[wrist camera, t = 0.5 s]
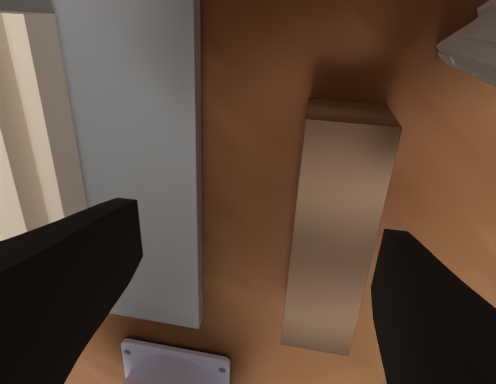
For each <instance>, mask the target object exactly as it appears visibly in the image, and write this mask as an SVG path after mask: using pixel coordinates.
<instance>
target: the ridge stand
mask: <svg viewBox="0 0 496 384" xmlns="http://www.w3.org/2000/svg"><path fill="white" fill-rule="evenodd" d="M115 198H126V199H135V200H137V203H138V212H139V221H140V231H141V240H142V249H143V257H142V259H141V262H140V264H139V266H138V268H137V270H136V272H135V274H134V276H133V278H132V280H131V281H130V283H129V285H128V286H127V288H126V289H125V291H124V292H123V294H122V295H121V297H120V298H119V299H118V301H117V302H116V304H115V305H114V307H113V308H112V309H111V311H110V312H109V313H111V314H116V315H122V316H127V317H133V318H139V319H144V320H150V321H155V322H161V323H167V324H172V325H178V326H184V327H189V328H195V329H199V328H200V325H201V322H202V320H203V237H202V130H201V22H200V0H0V241H2V240H5V239H8V238H11V237H14V236H17V235H20V234H23V233H25V232H28V231H31V230H33V229H36V228H39V227H42V226H44V225H47V224H50V223H52V222H55V221H57V220H60V219H62V218H65V217H67V216H70V215H72V214H75V213H77V212H80V211H82V210H85V209H87V208H90V207H92V206H95V205H97V204H100V203H102V202H105V201H108V200H111V199H115Z"/></svg>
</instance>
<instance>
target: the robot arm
mask: <svg viewBox="0 0 496 384" xmlns="http://www.w3.org/2000/svg"><path fill="white" fill-rule="evenodd" d="M142 257H143V249H142V240H141V231H140V221H139V212H138V203H137V200H135V199H126V198H115V199H111V200H108V201H105V202H102V203H100V204H97V205H95V206H92V207H90V208H87V209H85V210H82V211H80V212H77V213H75V214H72V215H70V216H67V217H65V218H62V219H60V220H57V221H55V222H52V223H50V224H47V225H44V226H42V227H39V228H36V229H33V230H31V231H28V232H25V233H23V234H20V235H17V236H14V237H11V238H8V239H5V240H2V241H0V384H64V383H65V381H66V379H67V377H68V375H69V374H70V372H71V370H72V368H73V366H74V365H75V363H76V361H77V359H78V358H79V356H80V355H81V353H82V351H83V350H84V348H85V347H86V345H87V344H88V342H89V341H90V339H91V338H92V336H93V335H94V334H95V332H96V331H97V329H98V328H99V327H100V325H101V324H102V322H103V321H104V319H105V318H106V317H107V315H108V314H109V312H110V311H111V309H112V308H113V307H114V305H115V304H116V302H117V301H118V299H119V298H120V297H121V295H122V294H123V292H124V291H125V289H126V288H127V286H128V285H129V283H130V281H131V280H132V278H133V276H134V274H135V272H136V270H137V268H138V266H139V264H140V262H141V259H142ZM371 297H372V310H373V320H374V325H375V330H376V335H377V340H378V344H379V349H380V354H381V358H382V363H383V367H384V372H385V376H386V381H387V384H496V308H495V307H493V306H492V305H491V304H490V303H488V302H487V301H486V300H485V299H483V298H482V297H481V296H480V295H478V294H477V293H476V292H475V291H473V290H472V289H471V288H470V287H469V286H467V285H466V284H465V283H464V282H463V281H462V280H460V279H459V278H458V277H457V276H456V275H455V274H454V273H452V272H451V271H450V270H449V269H448V268H447V267H446V266H445V265H444V264H443V263H441V262H440V261H439V260H438V259H437V258H436V257H435V256H434V255H433V254H432V253H431V252H430V251H429V250H428V249H427V248H425V247H424V246H423V245H422V244H421V243H420V242H419V241H418V240H417V239H416V238H415V237H414V236H412V235H411V234H410V233H409V232H407V231H398V230H390V229H384V233H383V237H382V241H381V246H380V250H379V254H378V259H377V263H376V267H375V272H374V276H373V281H372V285H371ZM121 351H122V358H123V365H124V371H125V378H126V380H125V382H124V384H230V360H229V359H228V358H227V357H224V356H220V355H214V354H209V353H204V352H198V351H193V350H188V349H182V348H177V347H172V346H166V345H161V344H155V343H150V342H145V341H139V340H134V339H128V338H126V339H124V340H123V341H122V343H121Z"/></svg>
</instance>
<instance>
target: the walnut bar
mask: <svg viewBox="0 0 496 384" xmlns="http://www.w3.org/2000/svg"><path fill="white" fill-rule="evenodd" d="M401 130H402V127H401V125H400V124H399V122H398V121H397V119H396V118H395V116H394V115H393V113H392V112H391V110H390V109H389V108H388V106H387V105H386V104H374V103H361V102H349V101H337V100H325V99H312V98H309V103H308V109H307V116H306V124H305V133H304V142H303V150H302V159H301V168H300V176H299V185H298V194H297V203H296V211H295V220H294V229H293V238H292V246H291V255H290V264H289V272H288V281H287V290H286V299H285V307H284V316H283V325H282V334H281V342H280V344H281V345H287V346H293V347H299V348H304V349H310V350H316V351H322V352H327V353H333V354H339V355H345V356H349V352H350V348H351V344H352V340H353V335H354V331H355V327H356V323H357V318H358V314H359V310H360V305H361V301H362V297H363V293H364V288H365V284H366V280H367V276H368V271H369V267H370V263H371V258H372V254H373V250H374V246H375V241H376V237H377V233H378V229H379V224H380V220H381V216H382V212H383V207H384V203H385V199H386V194H387V190H388V186H389V182H390V177H391V173H392V169H393V165H394V160H395V156H396V152H397V148H398V143H399V139H400V135H401Z"/></svg>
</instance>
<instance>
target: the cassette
mask: <svg viewBox="0 0 496 384" xmlns="http://www.w3.org/2000/svg"><path fill="white" fill-rule="evenodd" d="M477 13H478V17H477V19H475V20H474V21H472V22H471V23H469V24H468V25H466V26H465V27H463V28H462V29H460V30H458V31H457V32H455V33H454V34H452V35H450V36H449V37H447V38H446V39H444V40H442V41H441V42H439V43H438V44H437V45H436V48H437V50H438V52H437V54H438V56H439V57H440V59H441V60H442V61H444V63H445V64H447V65H449V66H451V67H453V68H455V69H458V70H460V71H462V72H464V73H466V74H469V75H471V76H473V77H475V78H478V79H480V80H482V81H484V82H486V83H489V84H491V85H493V86H495V87H496V0H489V1H488V2H486V3H484V4H483V5H481V6H480V7H478V8H477Z"/></svg>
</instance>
